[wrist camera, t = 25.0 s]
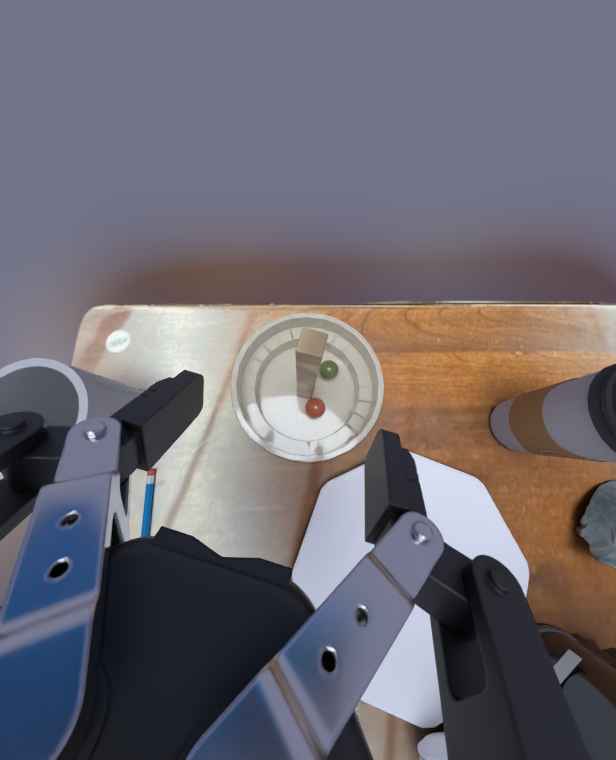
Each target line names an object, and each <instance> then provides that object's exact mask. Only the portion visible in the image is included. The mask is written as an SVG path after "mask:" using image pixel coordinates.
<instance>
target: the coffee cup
mask: <svg viewBox="0 0 616 760" xmlns="http://www.w3.org/2000/svg"><path fill="white" fill-rule="evenodd" d="M490 426H491V430H492V432H493V434H494V436H495V437H496V439H497V440H498V441H499V442H500V443H501V444H503V445H504V446H506V447H507V448H509V449H511V450H513V451H518V452H526V453H533V454H538V455H546V456H555V457H564V458H572V459H581V460H590V461H599V462H606V461H609V462H616V364H613V365H611V366H608V367H606V368H604V369H602V370H601V371H599V372H596V373H593V374H589V375H586V376H583V377H580V378H574V379H570V380H567V381H564V382H561V383H557V384H554V385H551V386H548V387H545V388H542V389H539V390H535V391H532V392H529V393H526V394H523V395H520V396H518V397H515V398H512V399H509V400H506V401H503V402H501V403H500V404H498V405H497V406H496V408H495V409H494V410H493V412H492V414H491V417H490Z"/></svg>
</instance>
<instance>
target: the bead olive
mask: <svg viewBox="0 0 616 760" xmlns="http://www.w3.org/2000/svg"><path fill="white" fill-rule="evenodd" d="M338 371H339V368H338V365H337V364H336V363H335V362H334V361H331V360H326V361H324V362H322V363H321V365H320V369H319V373H320V375H321V377H322V378H324V379H326V380H331V379H334V378H335V377H336V376H337V374H338Z"/></svg>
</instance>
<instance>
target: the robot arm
mask: <svg viewBox="0 0 616 760" xmlns="http://www.w3.org/2000/svg"><path fill="white" fill-rule="evenodd" d="M203 388H204V378H203V376H202V375H201V374H197V373H194V372H190V371H187V370H184V371H182V372H181V373H179V374H178V375H177V376H176V377H174V378H170V377H169V378H166V379H164V380H161V381H158V382H156V383H155V384H154V385H152V386H151V387H149V388H148V390H145V391H144V392H143V393H141V394H140V396H137V397H136V398H134V399H133V400H132V401H130V402H129V403H128V404H126V405H125V406H124V407H122V408H121V409H119V410H118V411H117V412H115V413H114V414H113V415H111V416H110V417H93V418H89V419H86V420H83V421H81V422H79V423H77V424H76V425H74V426H73V427H69V426H47V425H46V424H45V421H44V418H43V417H42V416H41V415H40V414H38V413H35V412H27V411H26V412H15V413H10V414H6V415H2V416H0V472H1V474H2V475H3V477H4V478H3V479H1V480H0V541H1V540H2V539H3V538H4V537H5V536H6V535H7V534H8V533H10V532H11V531H12V530H13V529H14V528H15V527H16V526H17V525H18V524H19V523H21V522H22V521H23V520H24V519H25V518H26V517H27V516H28V515H29V514H30V513H31V512H32V515H31V518H30V521H29V524H28V527H27V530H26V533H25V536H24V539H23V542H22V545H21V548H20V551H19V554H18V557H17V560H16V563H15V567H14V570H13V573H12V576H11V579H10V582H9V585H8V588H7V591H6V594H5V597H4V600H3V603H2V606H0V760H373V757H372V754H371V752H370V749H369V746H368V744H367V741H366V738H365V736H364V733H363V730H362V728H361V725H360V722H359V720H358V717H357V714H356V712H355V708H356V706H357V704H358V703H359V701H360V699H361V698H362V696H363V694H364V692H365V691H366V689H367V687H368V686H369V684H370V682H371V681H372V679H373V677H374V675H375V674H376V672H377V670H378V669H379V667H380V665H381V663H382V662H383V660H384V658H385V657H386V655H387V653H388V652H389V650H390V648H391V646H392V645H393V643H394V641H395V640H396V638H397V636H398V634H399V633H400V631H401V629H402V628H403V626H404V624H405V623H406V621H407V619H408V617H409V616H410V614H411V612H412V610H413V608H414V605H415V604H416V605H417V606H418V607H420V608H421V609H422V610H424V611H425V612H427V613H428V614H429V615H430V622H431V630H432V638H433V646H434V654H435V662H436V670H437V678H438V686H439V693H440V701H441V709H442V717H443V725H444V733H445V741H446V749H447V757H448V760H616V649H615V648H609V649H605V650H601V649H599V648H598V647H596V646H595V645H593V644H592V643H590V642H589V641H588V640H586V639H585V638H583V637H582V636H580V635H569V634H567V633H566V632H565V631H563V630H561V629H559V628H557V627H554V626H550V625H537V624H536V622H535V619H534V617H533V614H532V612H531V609H530V607H529V604H528V602H527V599H526V597H525V594H524V592H523V590H522V587H521V585H520V584H519V582H518V580H517V579H516V578H515V576H514V575H513V574H512V573H511V571H510V570H509V569H508V568H507V567H506V566H504V565H503V564H502V563H501V562H499V561H498V560H496V559H495V558H493V557H490V556H487V555H478V556H476V557H475V558H474V559H473V560H472V559H470V558H468V557H467V556H465V555H464V554H462V553H460V552H459V551H457V550H456V549H454V548H452V547H451V546H449V545H448V544H447V543H445V542H444V540H443V537H442V534H441V533H440V531H439V529H438V528H437V526H436V525H435V524H434V523H433V522H432V521H431V520H430V519H429V518H428V517H427V513H426V508H425V504H424V499H423V495H422V490H421V486H420V482H419V477H418V473H417V468H416V463H415V460H414V458H413V457H412V455H411V454H410V452H409V451H408V449H404V448H401V443H400V438H399V435H398V434H396V433H393V432H389V431H386V430H383V429H380V430H379V431H378V433H377V435H376V437H375V439H374V441H373V443H372V445H371V448H370V450H369V452H368V454H367V456H366V460H365V466H364V484H365V542H368V543H371V544H374V548H373V549H372V550H371V551H370V552H368V553H367V554H366V555H365V556H364V557H363V558H362V559H361V560H360V561H359V562H358V564H357V565H356V566H355V567H354V568H353V569H352V570H351V571H350V573H349V574H348V575H347V576H346V577H345V578H344V579H343V580H342V581H341V583H340V584H339V585H338V586H337V587H336V588H335V589H334V590H333V592H332V593H331V594H330V595H329V596H328V597H327V598H326V599H325V601H324V602H323V603H322V604H321V605H320V606H319V607H318V608H317V610H316V608H315V606H314V605H313V603H312V602H311V600H310V599H309V597H308V596H307V595H306V594H305V592H304V591H303V590H302V589H301V588H300V587H299V586H298V585H297V584H296V583H294V582H293V581H291V580H290V577H291V573H292V568H289V567H286V566H282V565H279V564H276V563H273V562H270V561H267V560H264V559H261V558H236V557H222V556H220V555H218V554H217V553H216V552H214V551H213V550H211V549H210V548H209V547H207V546H206V545H204V544H203V543H202V542H200V541H199V540H198V539H196V538H195V537H193V536H190V535H187V534H184V533H181V532H178V531H175V530H172V529H169V528H166V527H163V526H162V527H161V528H160V529H159V531H158V532H157V534H156V535H155V536H149V537H141V538H136V539H132V540H130V529H129V517H130V494H131V474H132V473H133V472H134V471H135V470H136V469H137V468H138V469H141V470H144V471H147V472H148V471H149V470H150V469H151V468H152V467H153V466H154V465H155V463H156V462H157V461H158V460H159V459H160V458H161V457H162V456H163V454H164V453H165V452H166V451H167V450H168V449H169V448H170V447H171V445H172V444H173V443H174V442H175V441H176V440H177V439H178V438H179V437H180V435H181V434H182V433H183V432H184V431H185V430H186V429H187V428H188V426H189V425H190V424H191V423H192V422H193V421H194V420H195V419H196V417H197V416H198V415H199V413H200V412H201V409H202V406H203Z"/></svg>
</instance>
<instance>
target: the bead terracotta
mask: <svg viewBox="0 0 616 760" xmlns="http://www.w3.org/2000/svg"><path fill="white" fill-rule="evenodd" d="M325 409H326V408H325V403H324V402H323V401H322V400H321V399H319V398H311V399H310V400H308V401H307V403H306V405H305V411H306V413H307V414H308V416H310V417H312V418H319V417H321V416H322V415H323V414H324V412H325Z"/></svg>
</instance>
